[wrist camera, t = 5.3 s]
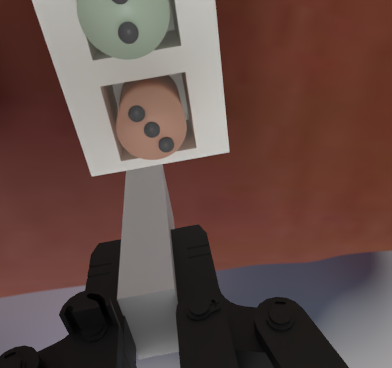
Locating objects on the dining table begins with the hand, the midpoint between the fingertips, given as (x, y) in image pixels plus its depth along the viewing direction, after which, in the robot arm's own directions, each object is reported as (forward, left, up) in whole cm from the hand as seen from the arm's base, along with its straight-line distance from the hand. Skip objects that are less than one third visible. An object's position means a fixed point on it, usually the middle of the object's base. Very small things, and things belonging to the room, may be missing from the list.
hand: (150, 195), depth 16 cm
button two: (-6, 0, -13) cm, 14 cm away
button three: (+1, 0, -15) cm, 15 cm away
